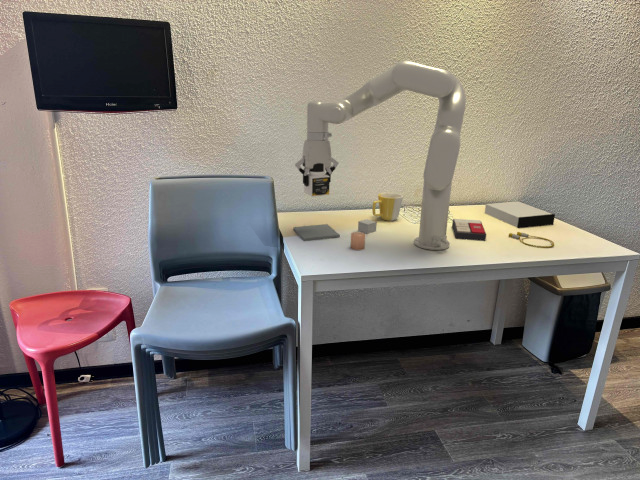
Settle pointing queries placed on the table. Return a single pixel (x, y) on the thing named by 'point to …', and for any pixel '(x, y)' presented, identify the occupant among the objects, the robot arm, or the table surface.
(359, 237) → the terracotta cylinder
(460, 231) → the red and grey box
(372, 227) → the grey plastic block
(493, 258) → the table surface
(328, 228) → the slate mat
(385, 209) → the mug
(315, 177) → the medicine bottle
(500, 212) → the disc drive
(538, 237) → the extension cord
